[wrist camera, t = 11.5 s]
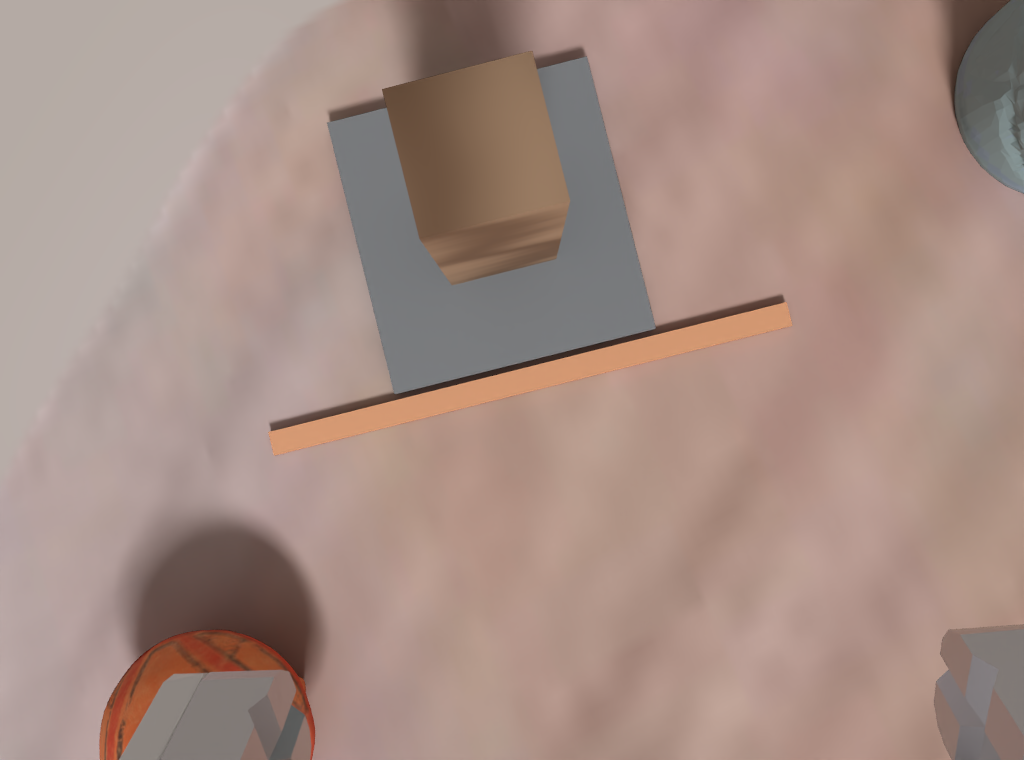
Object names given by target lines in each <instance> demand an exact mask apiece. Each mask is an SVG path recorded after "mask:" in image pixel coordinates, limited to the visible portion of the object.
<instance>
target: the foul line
mask: <svg viewBox="0 0 1024 760" xmlns="http://www.w3.org/2000/svg"><path fill="white" fill-rule="evenodd" d="M789 326H792V322H791V318H790V314H789V310H788V306H787V302H785V303H781V304H777V305H773V306H769V307H765V308H761V309H757V310H753V311H749V312H745V313H741V314H737V315H733V316H729V317H725V318H721V319H717V320H713V321H709V322H705V323H701V324H697V325H693V326H689V327H685V328H681V329H677V330H673V331H669V332H665V333H661V334H657V335H653V336H649V337H645V338H641V339H637V340H633V341H629V342H625V343H622V344H618V345H614V346H610V347H606V348H602V349H598V350H594V351H590V352H586V353H582V354H578V355H574V356H570V357H566V358H562V359H558V360H554V361H550V362H546V363H542V364H538V365H534V366H530V367H526V368H522V369H518V370H514V371H510V372H506V373H502V374H498V375H494V376H490V377H486V378H482V379H478V380H474V381H470V382H466V383H462V384H458V385H454V386H450V387H446V388H442V389H438V390H434V391H430V392H426V393H422V394H418V395H414V396H410V397H406V398H402V399H398V400H394V401H390V402H386V403H382V404H378V405H375V406H371V407H367V408H363V409H359V410H355V411H351V412H347V413H343V414H339V415H335V416H331V417H327V418H323V419H319V420H315V421H311V422H307V423H303V424H299V425H295V426H291V427H287V428H283V429H279V430H275V431H271V432H268V433H269V437H270V441H271V445H272V449H273V453H274V456H275V455H279V454H283V453H287V452H291V451H295V450H299V449H303V448H307V447H311V446H315V445H319V444H323V443H326V442H330V441H334V440H338V439H342V438H346V437H350V436H354V435H358V434H362V433H366V432H370V431H374V430H378V429H382V428H386V427H390V426H394V425H398V424H402V423H406V422H410V421H414V420H418V419H422V418H426V417H430V416H434V415H438V414H442V413H446V412H450V411H454V410H458V409H462V408H466V407H470V406H474V405H478V404H482V403H486V402H490V401H494V400H498V399H502V398H506V397H510V396H514V395H518V394H522V393H526V392H530V391H534V390H538V389H542V388H546V387H550V386H554V385H558V384H562V383H566V382H570V381H574V380H578V379H582V378H586V377H590V376H594V375H598V374H602V373H606V372H610V371H614V370H618V369H622V368H626V367H630V366H634V365H638V364H642V363H646V362H650V361H654V360H658V359H662V358H666V357H670V356H674V355H678V354H682V353H686V352H690V351H694V350H698V349H702V348H706V347H710V346H714V345H718V344H722V343H726V342H730V341H734V340H738V339H742V338H745V337H749V336H753V335H757V334H761V333H765V332H769V331H773V330H777V329H781V328H785V327H789Z"/></svg>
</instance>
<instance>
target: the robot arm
mask: <svg viewBox="0 0 1024 760" xmlns="http://www.w3.org/2000/svg"><path fill="white" fill-rule="evenodd" d="M940 655H941V657H942V658H943V660H944V662H945V664H946V665H947V667H948V669H949V670H948V671H947V672H946V673H944V674H943V675H942V676H941V677H940V678H939V679H938V680H937V681H936V687H935V697H934V706H935V712H936V719H937V725H938V728H939V731H940V734H941V737H942V740H943V743H944V745H945V747H946V749H947V751H948V753H949V755H950V757H951V759H952V760H1024V624H1022V625H1008V626H993V627H979V628H964V629H950V630H948V631H947V632H946V634H945V635H944V637H943V639H942V645H941V651H940ZM295 693H296V687H295V685H294V682H293V680H292V677H291V675H290V672H288V671H285V670H257V671H226V672H210V673H187V674H173V675H172V676H171V677H169V678H168V679H167V680H166V681H164V682H163V684H162V685H161V687H160V689H159V691H158V692H157V694H156V696H155V698H154V699H153V701H152V703H151V705H150V706H149V708H148V710H147V712H146V713H145V715H144V717H143V719H142V720H141V722H140V724H139V726H138V727H137V729H136V731H135V733H134V735H133V736H132V738H131V740H130V742H129V743H128V745H127V747H126V749H125V750H124V752H123V754H122V756H121V757H120V759H119V760H310V757H311V738H310V729H309V726H308V723H307V720H306V716H305V715H304V714H303V713H302V712H300V711H299V710H298V709H297V708H295V707H294V706H293V705H291V704H292V702H293V699H294V696H295Z"/></svg>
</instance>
